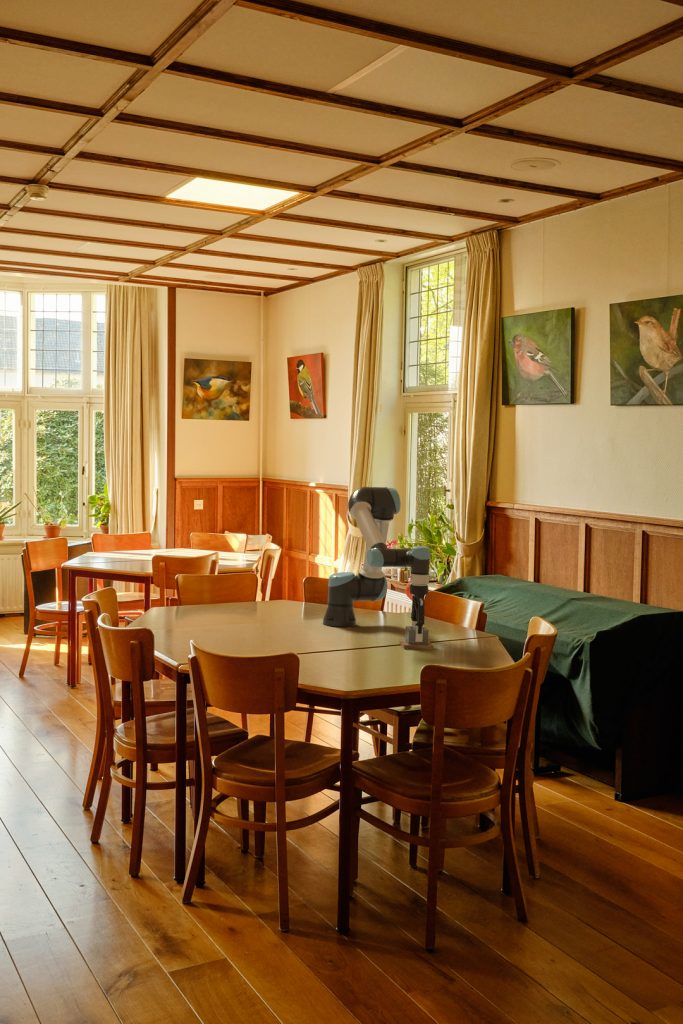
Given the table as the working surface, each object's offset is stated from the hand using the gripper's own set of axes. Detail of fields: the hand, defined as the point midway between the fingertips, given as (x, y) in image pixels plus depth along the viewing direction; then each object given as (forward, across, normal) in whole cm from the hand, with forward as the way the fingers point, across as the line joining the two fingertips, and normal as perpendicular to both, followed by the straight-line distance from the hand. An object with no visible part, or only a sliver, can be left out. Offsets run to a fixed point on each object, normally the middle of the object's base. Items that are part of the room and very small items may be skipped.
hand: (416, 639), depth 409 cm
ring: (+1, 0, 0) cm, 1 cm away
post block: (+3, 0, 0) cm, 3 cm away
